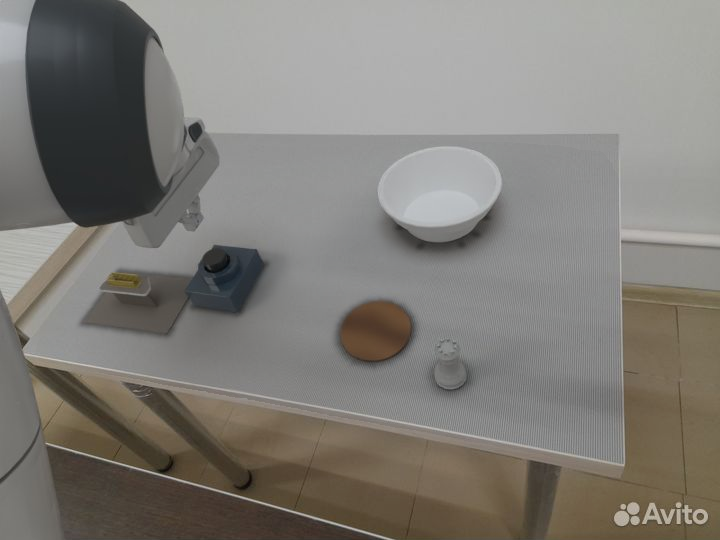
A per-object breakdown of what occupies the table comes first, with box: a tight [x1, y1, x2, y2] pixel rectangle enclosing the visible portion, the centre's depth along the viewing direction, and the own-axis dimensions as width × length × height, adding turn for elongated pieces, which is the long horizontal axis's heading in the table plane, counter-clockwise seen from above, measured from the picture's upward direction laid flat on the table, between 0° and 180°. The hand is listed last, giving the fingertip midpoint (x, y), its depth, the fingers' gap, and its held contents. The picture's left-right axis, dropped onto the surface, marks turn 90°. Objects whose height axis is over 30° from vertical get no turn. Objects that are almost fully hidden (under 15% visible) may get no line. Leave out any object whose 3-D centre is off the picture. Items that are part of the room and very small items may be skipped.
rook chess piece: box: [433, 336, 468, 390], centre depth 70 cm, size 4×4×8 cm
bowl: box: [376, 145, 503, 243], centre depth 92 cm, size 21×21×8 cm
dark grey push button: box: [201, 248, 229, 273], centre depth 89 cm, size 4×4×2 cm
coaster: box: [340, 300, 412, 363], centre depth 81 cm, size 11×11×1 cm
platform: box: [83, 271, 192, 334], centre depth 93 cm, size 12×18×7 cm, turn 75°
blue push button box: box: [185, 244, 265, 314], centre depth 91 cm, size 11×9×6 cm
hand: (195, 225), depth 83 cm, fingers closed
